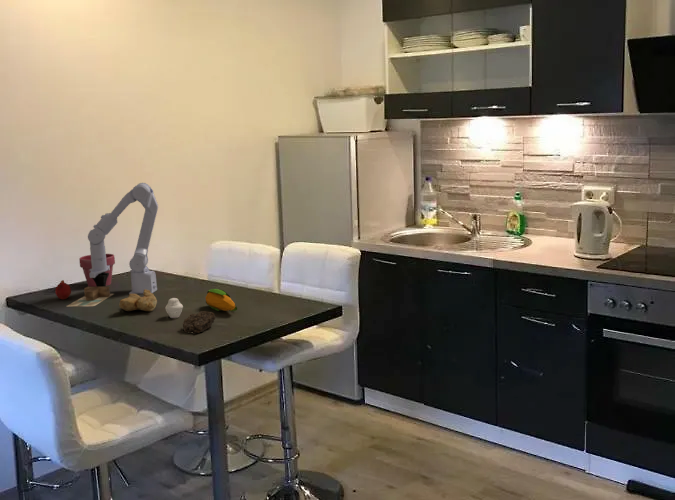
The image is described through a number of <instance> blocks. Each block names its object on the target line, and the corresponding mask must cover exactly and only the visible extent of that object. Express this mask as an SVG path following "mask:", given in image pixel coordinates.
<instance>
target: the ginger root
mask: <svg viewBox="0 0 675 500" xmlns="http://www.w3.org/2000/svg"><path fill="white" fill-rule="evenodd" d="M142 294H143V296H140V295H139V294H138V293H133V294H129V295H128V296H127V297H125V298H123V299H120V300H119V304H118V307H119V308H120V309H122V310H124V311H126V312H131V311H135V310H136V311H143V312H153V311H154V310H155V308H156V306H157V304H158V300H157V297H156V296H155V294H154V292H153V293H151V292H150V290H147V289H144V293H142Z"/></svg>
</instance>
